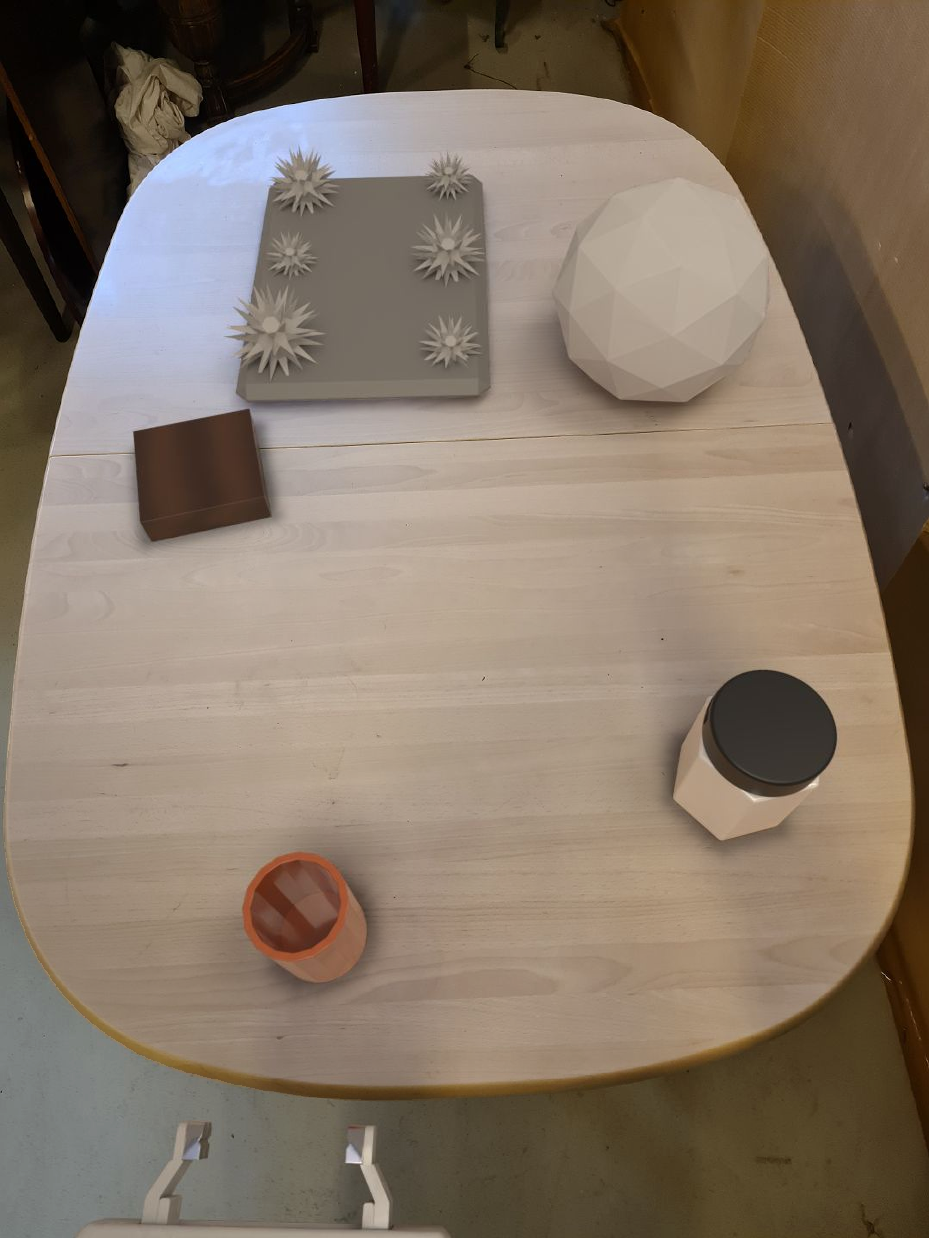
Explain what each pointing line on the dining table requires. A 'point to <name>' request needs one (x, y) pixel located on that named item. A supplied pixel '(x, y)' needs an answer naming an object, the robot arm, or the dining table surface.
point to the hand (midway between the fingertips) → (279, 1123)
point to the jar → (754, 753)
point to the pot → (305, 917)
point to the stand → (199, 475)
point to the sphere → (663, 290)
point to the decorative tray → (367, 288)
